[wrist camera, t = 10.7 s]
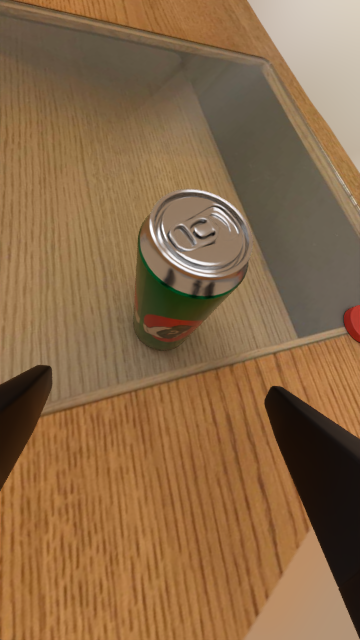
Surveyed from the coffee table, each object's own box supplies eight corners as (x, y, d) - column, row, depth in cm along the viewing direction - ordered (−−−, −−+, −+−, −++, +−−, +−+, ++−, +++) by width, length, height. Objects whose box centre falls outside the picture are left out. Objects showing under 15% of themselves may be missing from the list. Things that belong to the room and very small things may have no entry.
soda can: (198, 333, 20) (285, 255, 9) (152, 362, 18) (189, 310, 7) (169, 290, 21) (214, 170, 10) (122, 314, 19) (113, 199, 8)
